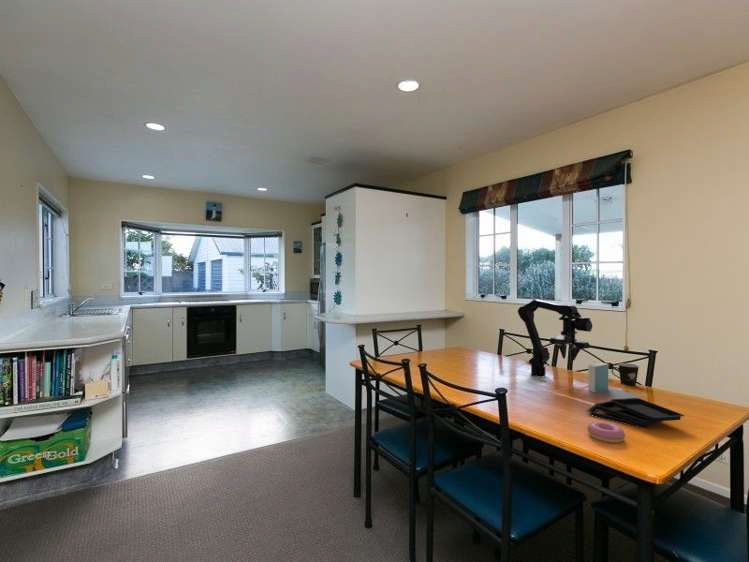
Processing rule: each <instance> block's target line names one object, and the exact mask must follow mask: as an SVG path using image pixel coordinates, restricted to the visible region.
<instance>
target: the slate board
mask: <svg viewBox="0 0 749 562" xmlns="http://www.w3.org/2000/svg"><path fill="white" fill-rule="evenodd" d="M582 391H583V392H586V393H590V394H594V395H597V396H602V397H605V398H608V399H625V398H639V399H640V398H643V395H641V394H635V393H631V392H628V391H623V390H619V389H616V388H612V387H608V389H606V390H601V391H597V392H592V391H589V390H588V388H587V389H583V390H582Z"/></svg>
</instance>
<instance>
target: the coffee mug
mask: <svg viewBox="0 0 749 562" xmlns="http://www.w3.org/2000/svg"><path fill="white" fill-rule="evenodd" d="M639 368H640V366H639V365H638V364H634V363H627V362H624V363H623V362H622V363H618V366H613V367H612V368H611V373H612V374H613V376H615V377H616V378H618V379H620V384H621V385H624V386H629V387H632V386H633V387H636V386H637V381H638V375H639V374H638V373H639ZM614 369H617V370H618V372H619V373H618V374H619V376H618V375H617V374H615V373H614ZM635 385H636V386H635Z"/></svg>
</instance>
